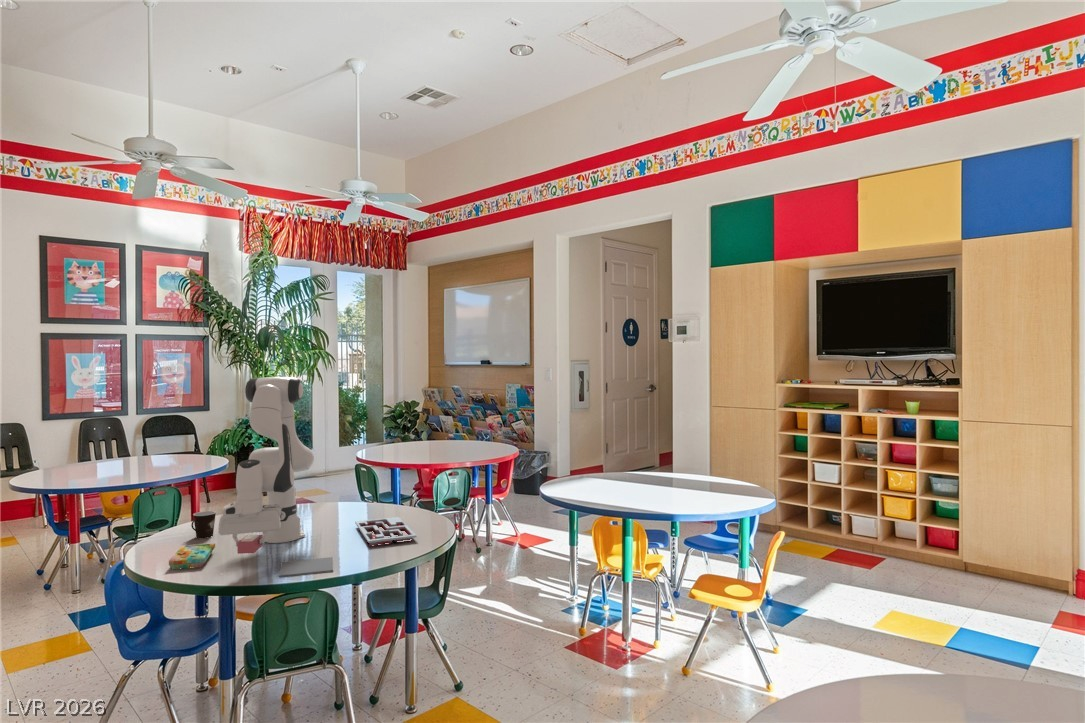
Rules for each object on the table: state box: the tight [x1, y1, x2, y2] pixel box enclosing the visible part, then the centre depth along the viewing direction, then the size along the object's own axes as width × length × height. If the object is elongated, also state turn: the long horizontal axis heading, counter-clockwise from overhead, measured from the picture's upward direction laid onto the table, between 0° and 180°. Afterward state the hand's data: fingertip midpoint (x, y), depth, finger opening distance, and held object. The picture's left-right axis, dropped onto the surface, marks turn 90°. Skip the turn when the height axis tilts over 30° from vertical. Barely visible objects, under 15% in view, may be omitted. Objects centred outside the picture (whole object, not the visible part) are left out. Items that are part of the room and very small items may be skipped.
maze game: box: [354, 516, 417, 547], centre depth 281 cm, size 35×20×3 cm, turn 24°
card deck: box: [236, 534, 264, 555], centre depth 231 cm, size 9×6×4 cm, turn 4°
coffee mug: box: [190, 510, 216, 539], centre depth 277 cm, size 12×9×10 cm
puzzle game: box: [168, 543, 216, 570], centre depth 245 cm, size 12×5×20 cm
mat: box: [278, 556, 334, 578], centre depth 237 cm, size 16×18×1 cm
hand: (250, 544), depth 231 cm, fingers closed on card deck, 6 cm apart
